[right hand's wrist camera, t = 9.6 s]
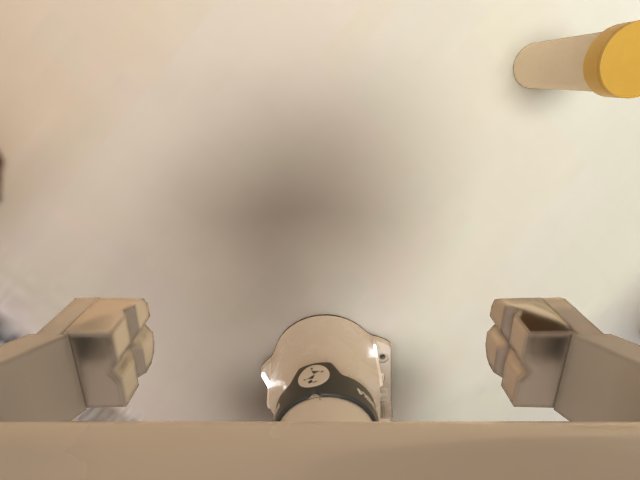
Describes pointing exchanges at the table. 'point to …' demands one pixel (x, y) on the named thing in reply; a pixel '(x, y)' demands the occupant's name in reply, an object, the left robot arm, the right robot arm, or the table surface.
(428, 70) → the table surface
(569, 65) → the jar
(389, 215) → the table surface
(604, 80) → the lid
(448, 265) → the table surface
